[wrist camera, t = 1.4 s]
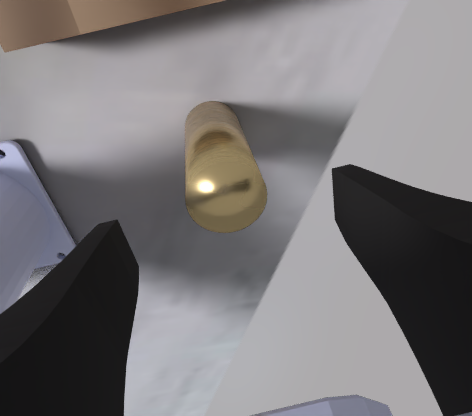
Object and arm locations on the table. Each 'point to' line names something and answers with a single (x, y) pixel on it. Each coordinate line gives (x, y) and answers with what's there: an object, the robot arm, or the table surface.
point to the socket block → (75, 17)
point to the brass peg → (220, 171)
